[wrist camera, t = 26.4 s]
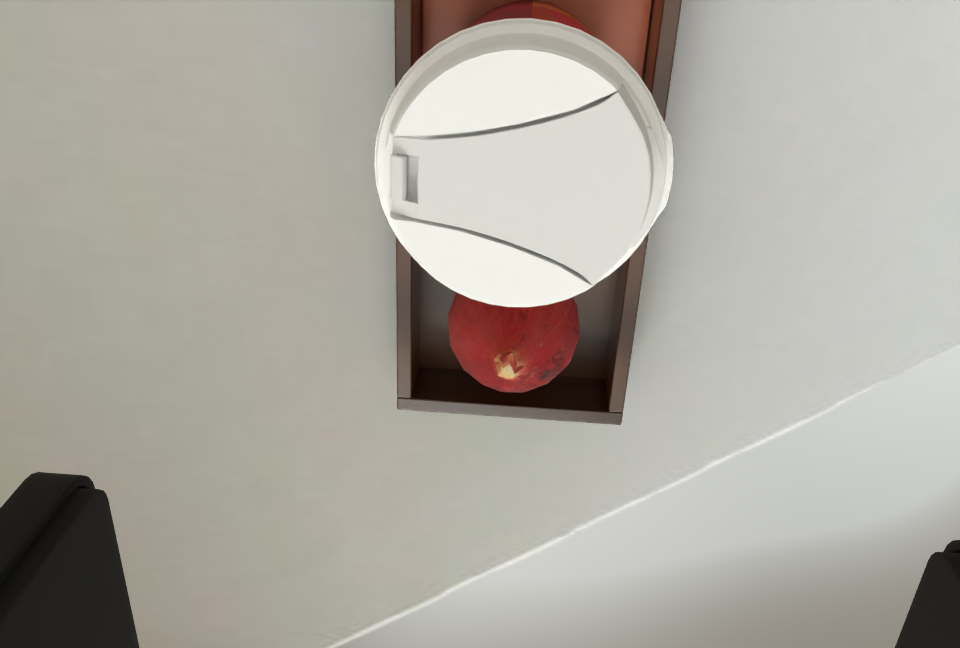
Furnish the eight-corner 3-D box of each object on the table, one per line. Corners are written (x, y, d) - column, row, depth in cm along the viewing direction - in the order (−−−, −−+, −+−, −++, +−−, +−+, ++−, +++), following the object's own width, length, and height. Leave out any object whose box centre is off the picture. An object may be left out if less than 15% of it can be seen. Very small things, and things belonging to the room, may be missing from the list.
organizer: (407, -71, 34) (393, -66, 31) (675, -58, 34) (689, -51, 31) (407, 371, 44) (397, 409, 41) (615, 385, 44) (621, 425, 40)
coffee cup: (427, 161, 38) (366, 313, 25) (433, -38, 34) (363, 15, 21) (615, 175, 38) (655, 336, 24) (642, -24, 34) (706, 38, 20)
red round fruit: (601, 285, 40) (614, 371, 33) (522, 363, 43) (518, 459, 36) (509, 209, 39) (502, 282, 32) (432, 293, 41) (409, 379, 34)
